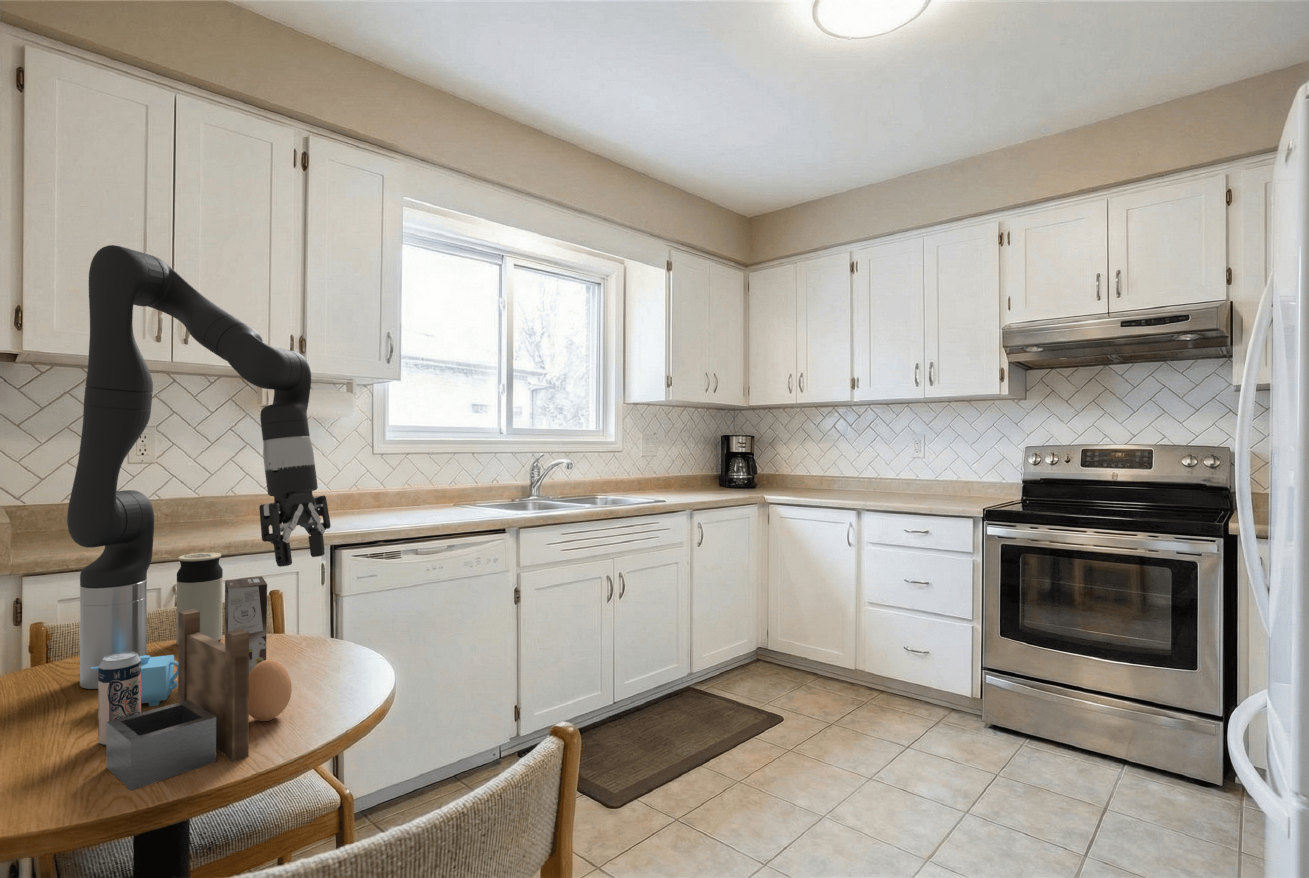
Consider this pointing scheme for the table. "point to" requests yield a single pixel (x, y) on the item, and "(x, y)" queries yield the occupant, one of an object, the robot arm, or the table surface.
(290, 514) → the robot arm
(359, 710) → the table surface
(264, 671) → the egg
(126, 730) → the post bracket
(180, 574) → the travel mug
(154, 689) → the teapot
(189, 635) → the headboard panel
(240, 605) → the coffee box
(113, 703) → the beer can
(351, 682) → the table surface
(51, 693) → the table surface
